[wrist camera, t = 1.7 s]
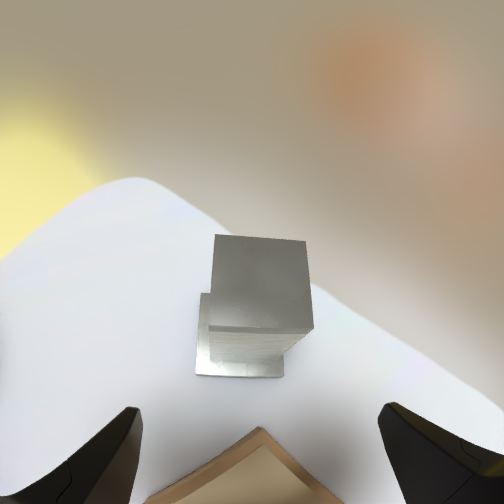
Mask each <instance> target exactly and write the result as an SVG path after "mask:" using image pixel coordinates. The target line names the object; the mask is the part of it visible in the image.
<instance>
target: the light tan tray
mask: <svg viewBox="0 0 504 504" xmlns="http://www.w3.org/2000/svg"><path fill="white" fill-rule="evenodd" d="M143 504H344V503H343V502H341V501H340V500H339V499H338V498H337V497H335V496H334V495H333V494H332V493H331V492H329V491H328V490H327V489H326V488H325V487H324V486H323V485H321V484H320V483H319V482H318V481H317V480H316V479H315V478H314V477H312V476H311V475H310V474H309V473H308V472H307V471H306V470H305V469H304V468H303V467H302V466H301V465H299V464H298V463H297V462H296V461H295V460H294V459H293V458H292V457H291V456H290V455H289V454H288V453H287V452H286V451H285V450H284V449H283V448H282V447H281V446H280V445H279V444H278V443H277V442H276V441H275V440H274V439H273V438H272V437H271V436H270V435H269V434H268V433H267V431H266V430H265V429H263V428H261V427H259V426H258V427H257V428H255V429H254V430H253V431H251V432H250V433H249V434H248V435H246V436H245V437H244V438H242V439H241V440H240V441H238V442H237V443H235V444H234V445H233V446H231V447H230V448H228V449H227V450H226V451H224V452H223V453H221V454H220V455H218V456H217V457H216V458H214V459H213V460H211V461H210V462H208V463H206V464H205V465H203V466H202V467H200V468H199V469H197V470H196V471H194V472H192V473H191V474H189V475H188V476H186V477H184V478H183V479H181V480H179V481H177V482H176V483H174V484H172V485H171V486H169V487H167V488H165V489H163V490H162V491H160V492H158V493H156V494H154V495H152V496H150V497H148V498H147V499H146V501H145V502H144V503H143Z"/></svg>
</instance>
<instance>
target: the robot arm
mask: <svg viewBox="0 0 504 504" xmlns="http://www.w3.org/2000/svg"><path fill="white" fill-rule="evenodd" d="M378 425H379V429H380V432H381V436H382V439H383V443H384V446H385V450H386V453H387V455H388V458H389V460H390V463H391V465H392V468H393V470H394V473H395V476H396V478H397V481H398V483H399V486H400V488H401V491H402V494H403V496H404V499H405V502H406V504H504V455H502V454H499V453H496V452H493V451H490V450H487V449H485V448H482V447H480V446H477V445H475V444H472V443H470V442H468V441H466V440H464V439H462V438H459V437H458V436H456V435H454V434H452V433H450V432H449V431H447V430H445V429H443V428H441V427H439V426H437V425H435V424H434V423H432V422H430V421H428V420H426V419H424V418H423V417H421V416H419V415H417V414H415V413H414V412H412V411H410V410H408V409H407V408H405V407H403V406H401V405H400V404H398V403H396V402H390V403H386V404H385V405H384V406H383V408H382V410H381V412H380V414H379V416H378ZM142 431H143V422H142V417H141V413H140V410H139V408H135V407H126V408H125V409H124V410H123V411H122V412H121V413H120V414H119V415H117V416H116V417H115V418H114V419H113V420H112V421H111V422H109V423H108V424H107V425H106V426H105V427H104V428H103V429H102V430H100V431H99V432H98V433H97V434H96V435H95V436H94V437H92V438H91V439H90V440H89V441H88V442H87V443H85V444H84V445H83V446H82V447H81V448H80V449H78V450H77V451H76V452H75V453H74V454H73V455H71V456H70V457H69V458H68V459H67V460H65V461H64V462H63V463H62V464H61V465H59V466H58V467H57V468H56V469H54V470H53V471H52V472H50V473H49V474H47V475H46V476H44V477H43V478H41V479H40V480H38V481H36V482H35V483H33V484H31V485H29V486H28V487H26V488H24V489H23V490H21V491H19V492H17V493H15V494H12V495H9V496H0V504H129V501H130V496H131V492H132V488H133V484H134V480H135V476H136V472H137V468H138V463H139V455H140V447H141V439H142Z"/></svg>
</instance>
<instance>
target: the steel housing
mask: <svg viewBox="0 0 504 504" xmlns="http://www.w3.org/2000/svg"><path fill="white" fill-rule="evenodd" d="M313 329H314V324H313V311H312V300H311V289H310V278H309V269H308V260H307V250H306V242H305V241H296V240H284V239H270V238H259V237H245V236H233V235H219V234H215V241H214V253H213V266H212V279H211V293H201V298H200V310H199V324H198V339H197V357H196V375H200V376H215V377H239V378H281V377H283V376H284V373H283V353H284V352H286V351H287V350H288V349H289V348H291V347H292V346H293V345H294V344H296V343H297V342H298V341H299V340H301V339H302V338H303V337H304V336H305V335H307V334H308V333H309V332H310V331H311V330H313Z"/></svg>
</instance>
